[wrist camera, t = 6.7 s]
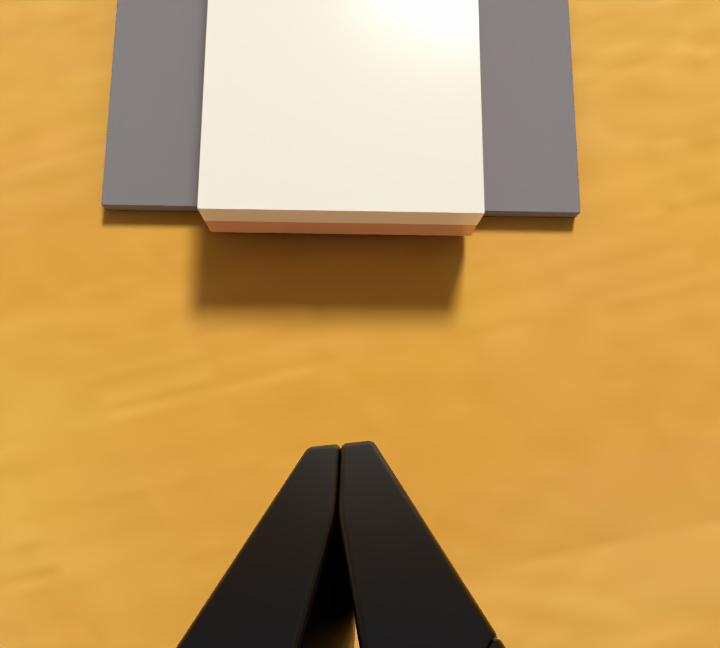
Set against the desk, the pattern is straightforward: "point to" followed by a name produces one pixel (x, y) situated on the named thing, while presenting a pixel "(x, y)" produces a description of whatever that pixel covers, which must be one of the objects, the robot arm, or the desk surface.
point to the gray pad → (498, 104)
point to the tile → (342, 117)
